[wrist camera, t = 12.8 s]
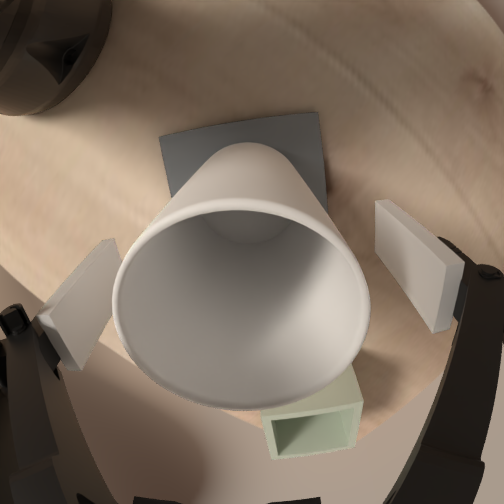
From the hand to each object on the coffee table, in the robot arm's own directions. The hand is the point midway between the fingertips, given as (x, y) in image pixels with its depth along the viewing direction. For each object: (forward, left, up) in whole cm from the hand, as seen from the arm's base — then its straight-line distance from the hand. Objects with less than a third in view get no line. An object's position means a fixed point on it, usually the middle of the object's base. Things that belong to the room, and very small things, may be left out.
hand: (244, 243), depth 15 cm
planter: (+21, +3, -10) cm, 24 cm away
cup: (0, 0, -10) cm, 10 cm away
